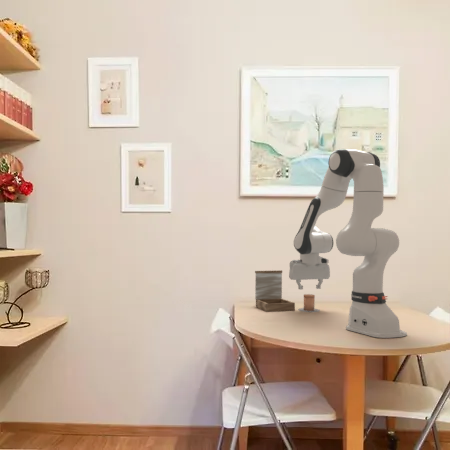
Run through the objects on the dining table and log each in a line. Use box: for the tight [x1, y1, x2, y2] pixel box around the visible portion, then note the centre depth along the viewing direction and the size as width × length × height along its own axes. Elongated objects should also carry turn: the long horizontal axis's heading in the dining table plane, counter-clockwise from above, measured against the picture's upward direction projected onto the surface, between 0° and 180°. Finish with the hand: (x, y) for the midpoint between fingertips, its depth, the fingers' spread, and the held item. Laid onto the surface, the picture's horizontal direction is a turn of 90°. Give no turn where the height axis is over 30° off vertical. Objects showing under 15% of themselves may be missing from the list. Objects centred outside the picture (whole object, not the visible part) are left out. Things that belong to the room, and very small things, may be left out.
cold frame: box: [254, 270, 296, 313], centre depth 199 cm, size 15×14×18 cm
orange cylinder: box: [303, 293, 316, 311], centre depth 195 cm, size 5×5×7 cm
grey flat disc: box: [298, 307, 321, 313], centre depth 195 cm, size 10×10×1 cm
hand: (309, 289), depth 195 cm, fingers open, 8 cm apart
